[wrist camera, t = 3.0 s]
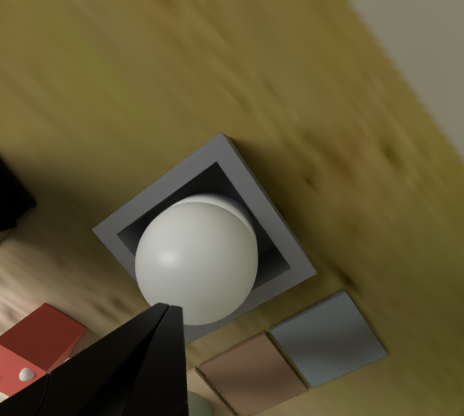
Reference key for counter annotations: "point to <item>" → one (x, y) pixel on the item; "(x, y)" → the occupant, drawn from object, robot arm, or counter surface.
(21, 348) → the red die
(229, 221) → the dome
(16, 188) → the robot arm
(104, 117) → the counter surface
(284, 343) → the game track
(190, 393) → the pawn
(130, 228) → the grey square tray
